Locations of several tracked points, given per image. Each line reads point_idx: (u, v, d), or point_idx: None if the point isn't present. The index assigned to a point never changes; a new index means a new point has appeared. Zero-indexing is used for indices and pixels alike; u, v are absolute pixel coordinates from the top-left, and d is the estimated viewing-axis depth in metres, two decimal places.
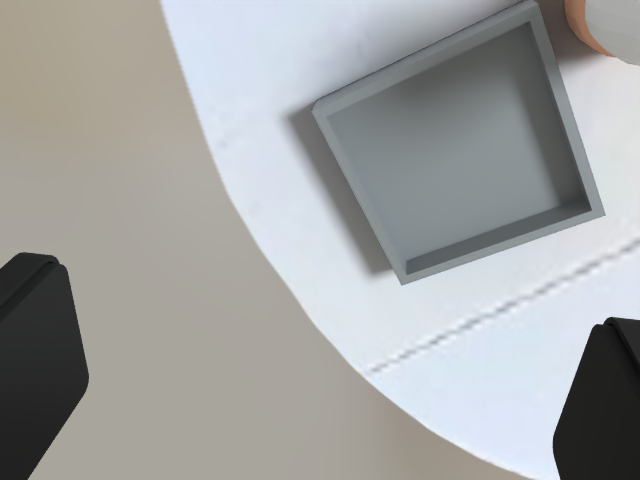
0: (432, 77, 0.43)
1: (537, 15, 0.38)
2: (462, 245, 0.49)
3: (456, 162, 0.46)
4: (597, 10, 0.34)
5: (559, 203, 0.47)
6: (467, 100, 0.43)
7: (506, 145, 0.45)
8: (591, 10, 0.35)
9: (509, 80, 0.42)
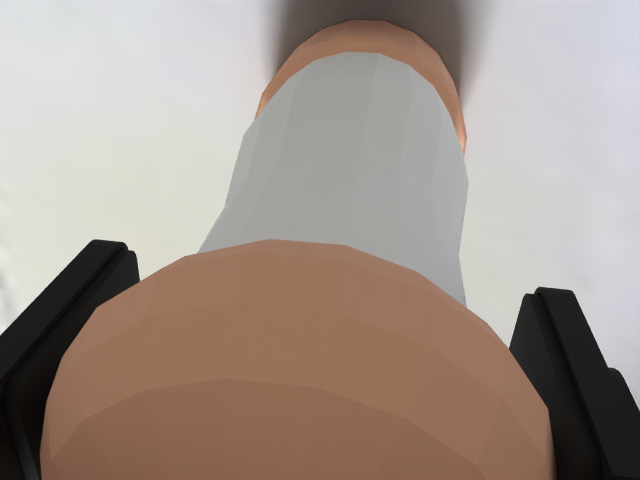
0: None
1: None
2: None
3: None
4: (407, 84, 0.15)
5: None
6: None
7: None
8: (400, 72, 0.16)
9: None
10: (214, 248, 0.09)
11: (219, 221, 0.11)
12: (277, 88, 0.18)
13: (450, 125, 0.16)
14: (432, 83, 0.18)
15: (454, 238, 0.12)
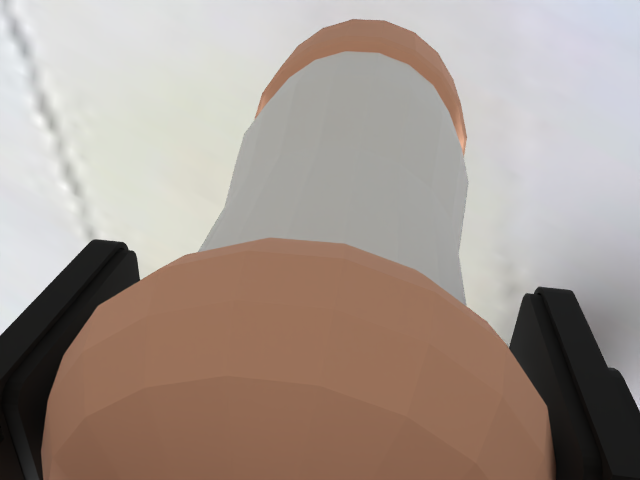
0: None
1: None
2: None
3: None
4: (406, 84, 0.15)
5: None
6: None
7: None
8: (400, 71, 0.16)
9: None
10: (214, 247, 0.09)
11: (219, 220, 0.11)
12: (277, 88, 0.18)
13: (450, 125, 0.16)
14: (432, 83, 0.18)
15: (454, 237, 0.12)
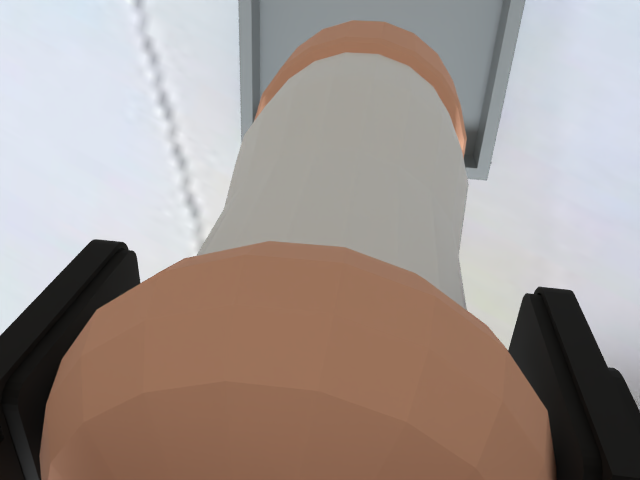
0: (473, 48, 0.37)
1: (477, 176, 0.39)
2: None
3: None
4: (406, 85, 0.15)
5: None
6: None
7: None
8: (400, 73, 0.16)
9: None
10: (214, 250, 0.09)
11: (219, 223, 0.11)
12: (277, 89, 0.18)
13: (450, 126, 0.16)
14: (432, 84, 0.18)
15: (454, 239, 0.12)
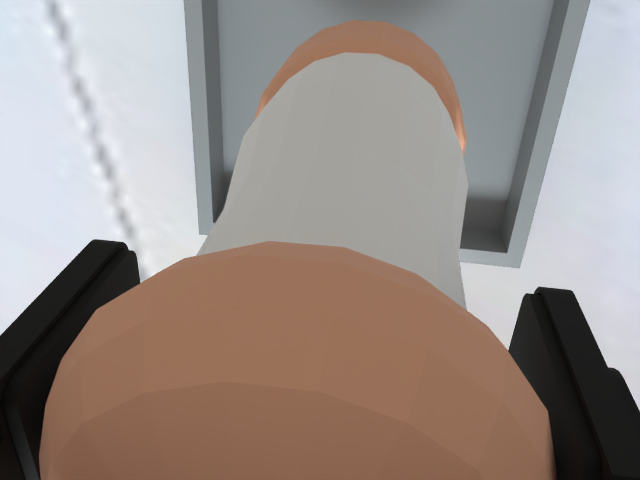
0: (503, 97, 0.28)
1: (507, 262, 0.29)
2: (213, 13, 0.27)
3: None
4: (406, 85, 0.15)
5: (227, 173, 0.31)
6: None
7: None
8: (399, 73, 0.16)
9: None
10: (213, 250, 0.09)
11: (218, 223, 0.11)
12: (277, 89, 0.18)
13: (450, 126, 0.16)
14: (432, 84, 0.18)
15: (454, 239, 0.12)
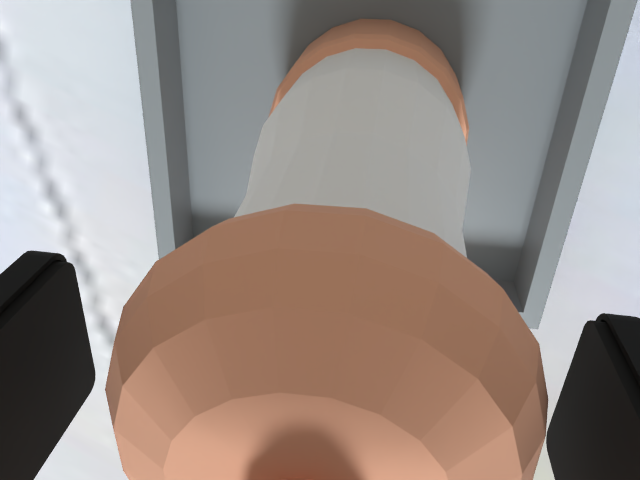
0: (520, 130, 0.23)
1: None
2: (171, 31, 0.22)
3: None
4: (413, 78, 0.16)
5: (196, 214, 0.27)
6: None
7: None
8: (406, 66, 0.17)
9: None
10: None
11: (247, 199, 0.12)
12: (291, 83, 0.20)
13: (453, 115, 0.17)
14: (436, 77, 0.19)
15: (458, 214, 0.13)
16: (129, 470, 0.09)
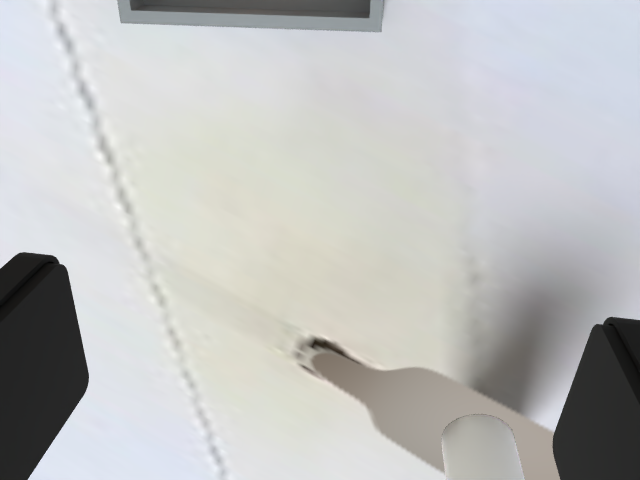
0: None
1: (370, 27, 0.36)
2: None
3: None
4: None
5: None
6: None
7: None
8: None
9: None
10: None
11: None
12: None
13: None
14: None
15: None
16: None
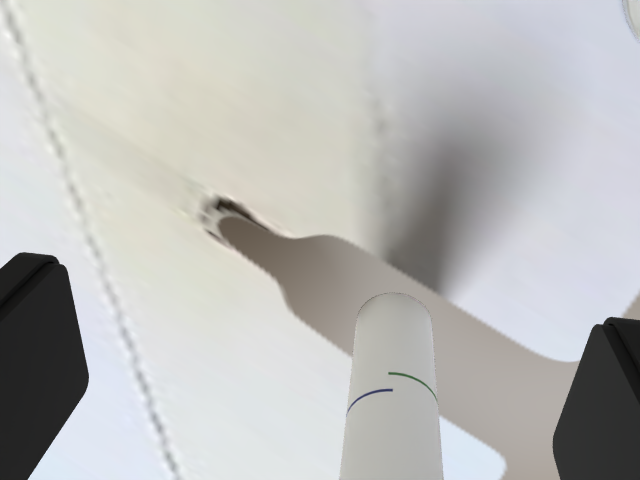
0: None
1: None
2: None
3: None
4: None
5: None
6: None
7: None
8: None
9: None
10: None
11: None
12: None
13: None
14: None
15: None
16: None
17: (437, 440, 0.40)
